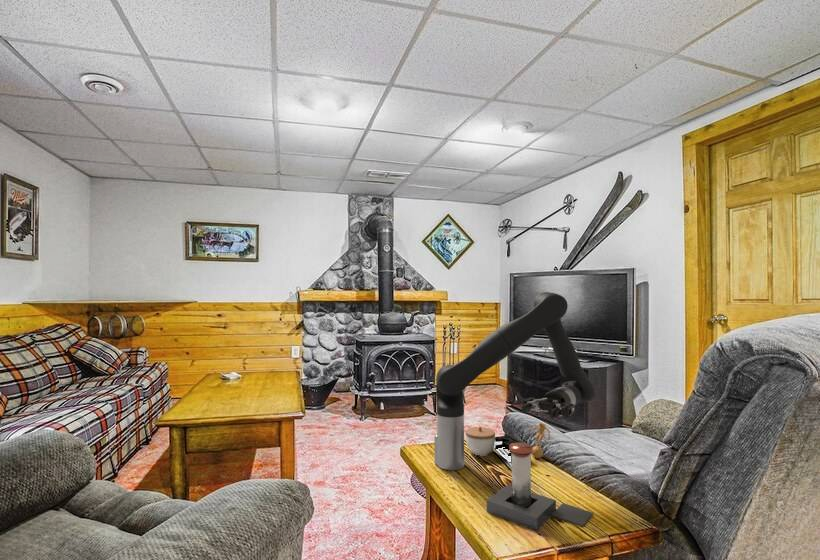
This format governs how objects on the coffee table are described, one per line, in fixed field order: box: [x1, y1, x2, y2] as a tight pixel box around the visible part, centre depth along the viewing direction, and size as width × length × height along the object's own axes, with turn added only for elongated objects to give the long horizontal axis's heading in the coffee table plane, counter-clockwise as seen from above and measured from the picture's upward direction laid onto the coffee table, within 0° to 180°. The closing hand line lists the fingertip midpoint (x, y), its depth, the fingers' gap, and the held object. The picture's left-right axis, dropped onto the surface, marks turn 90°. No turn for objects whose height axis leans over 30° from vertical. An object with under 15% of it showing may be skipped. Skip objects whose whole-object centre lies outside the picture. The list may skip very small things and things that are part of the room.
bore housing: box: [486, 484, 557, 531], centre depth 114 cm, size 14×12×3 cm
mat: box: [551, 502, 594, 528], centre depth 112 cm, size 8×8×1 cm
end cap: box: [494, 432, 524, 456], centre depth 152 cm, size 10×7×7 cm
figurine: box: [530, 422, 551, 459], centre depth 152 cm, size 8×6×12 cm
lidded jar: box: [464, 426, 496, 457], centre depth 156 cm, size 11×11×9 cm
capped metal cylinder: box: [509, 442, 534, 509], centre depth 114 cm, size 6×6×17 cm
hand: (537, 411), depth 123 cm, fingers open, 8 cm apart
